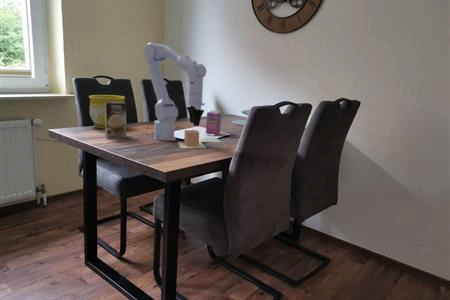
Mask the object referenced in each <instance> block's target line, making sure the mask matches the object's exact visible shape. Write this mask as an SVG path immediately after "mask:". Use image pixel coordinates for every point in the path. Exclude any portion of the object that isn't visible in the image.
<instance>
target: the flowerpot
mask: <svg viewBox="0 0 450 300" xmlns="http://www.w3.org/2000/svg"><path fill="white" fill-rule="evenodd" d="M88 98H89V99H90V101H89V104H90V105H89V115H90V118H91V121H93V123H94V124H93V126H94V127H95V128H96V127H97V128H96V129H100V128H101V130H105V102H125V99H126V96H124V95H113V94H111V95H110V94H94V95H93V94H92V95H89V96H88Z"/></svg>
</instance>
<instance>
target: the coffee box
mask: <svg viewBox="0 0 450 300" xmlns="http://www.w3.org/2000/svg"><path fill="white" fill-rule="evenodd" d="M104 136H105V138H106V139H109V138H110V139H117V138H119V139H120V138H121V139H122V138H125V139H126V138H127V103H126V102H125V101H124V102H105V129H104Z"/></svg>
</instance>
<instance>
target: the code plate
mask: <svg viewBox="0 0 450 300" xmlns="http://www.w3.org/2000/svg"><path fill="white" fill-rule="evenodd" d="M203 143H204V142H202V141H199V146H186V145H185V144H184V141H177V144H178V146H179V148H180V149H207V146H205V145H204V144H203Z"/></svg>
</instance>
